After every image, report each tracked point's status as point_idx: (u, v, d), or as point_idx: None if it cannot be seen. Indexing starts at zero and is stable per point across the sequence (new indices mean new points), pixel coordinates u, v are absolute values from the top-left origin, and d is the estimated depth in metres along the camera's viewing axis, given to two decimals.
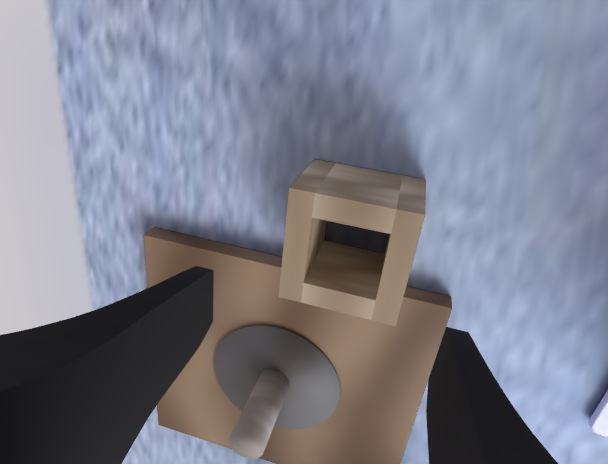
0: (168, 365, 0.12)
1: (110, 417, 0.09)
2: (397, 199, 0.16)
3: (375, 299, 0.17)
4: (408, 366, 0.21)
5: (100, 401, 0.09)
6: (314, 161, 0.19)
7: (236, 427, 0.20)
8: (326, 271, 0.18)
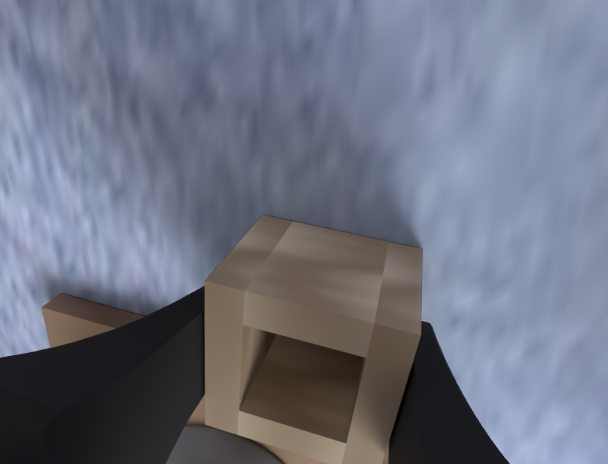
0: (202, 375, 0.11)
1: (152, 430, 0.09)
2: (377, 298, 0.10)
3: (345, 441, 0.11)
4: None
5: (144, 415, 0.09)
6: (261, 219, 0.13)
7: None
8: (278, 384, 0.12)
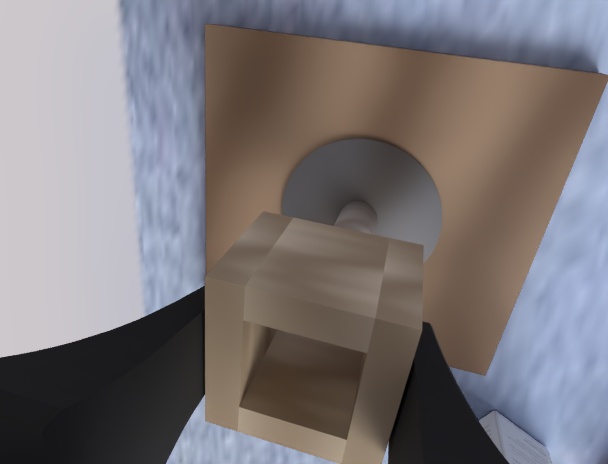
0: (202, 375, 0.11)
1: (151, 431, 0.09)
2: (378, 293, 0.10)
3: (346, 438, 0.11)
4: (537, 175, 0.17)
5: (144, 415, 0.09)
6: (262, 216, 0.13)
7: None
8: (278, 380, 0.12)
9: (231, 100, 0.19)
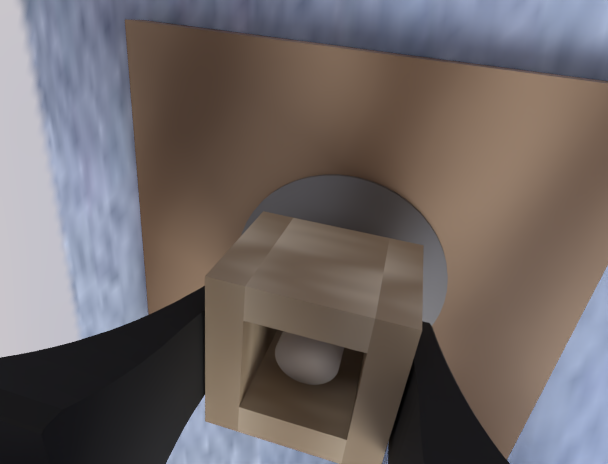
0: (202, 375, 0.11)
1: (152, 430, 0.09)
2: (378, 293, 0.10)
3: (346, 438, 0.11)
4: (580, 230, 0.12)
5: (144, 415, 0.09)
6: (262, 216, 0.13)
7: None
8: (278, 380, 0.12)
9: (166, 121, 0.14)
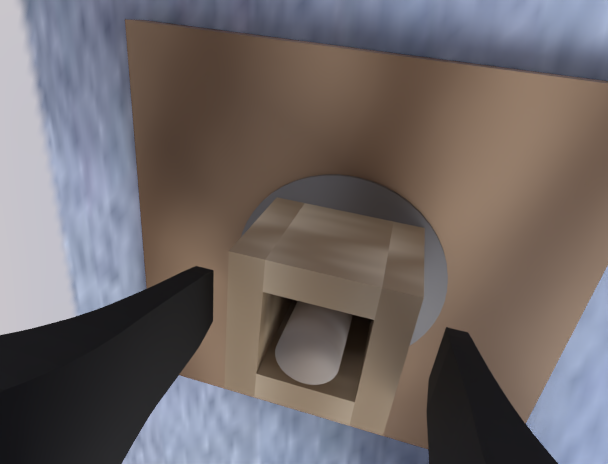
0: (168, 365, 0.12)
1: (110, 417, 0.09)
2: (384, 267, 0.11)
3: (354, 400, 0.12)
4: (580, 230, 0.12)
5: (100, 401, 0.09)
6: (275, 201, 0.14)
7: (288, 328, 0.12)
8: None
9: (166, 121, 0.14)
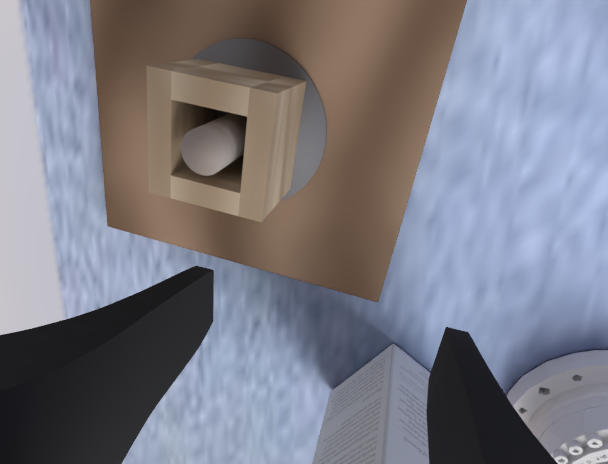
0: (168, 365, 0.12)
1: (110, 417, 0.09)
2: (258, 84, 0.15)
3: (240, 192, 0.16)
4: (414, 79, 0.17)
5: (100, 401, 0.09)
6: (196, 59, 0.18)
7: None
8: None
9: None
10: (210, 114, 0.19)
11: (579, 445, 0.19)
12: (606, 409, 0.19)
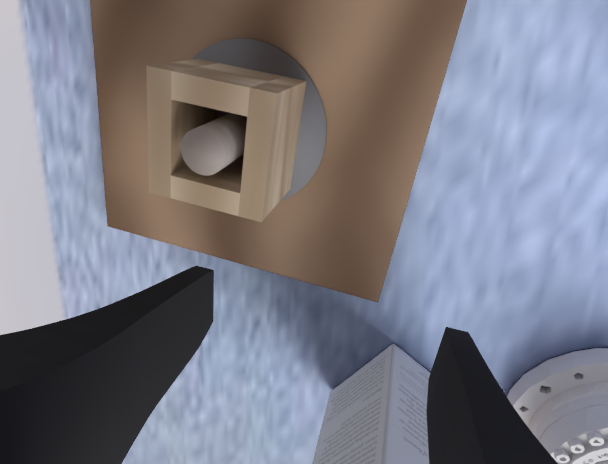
0: (168, 365, 0.12)
1: (110, 417, 0.09)
2: (258, 84, 0.15)
3: (240, 192, 0.16)
4: (414, 79, 0.17)
5: (100, 401, 0.09)
6: (196, 59, 0.18)
7: None
8: None
9: None
10: (210, 114, 0.19)
11: (581, 443, 0.19)
12: None
